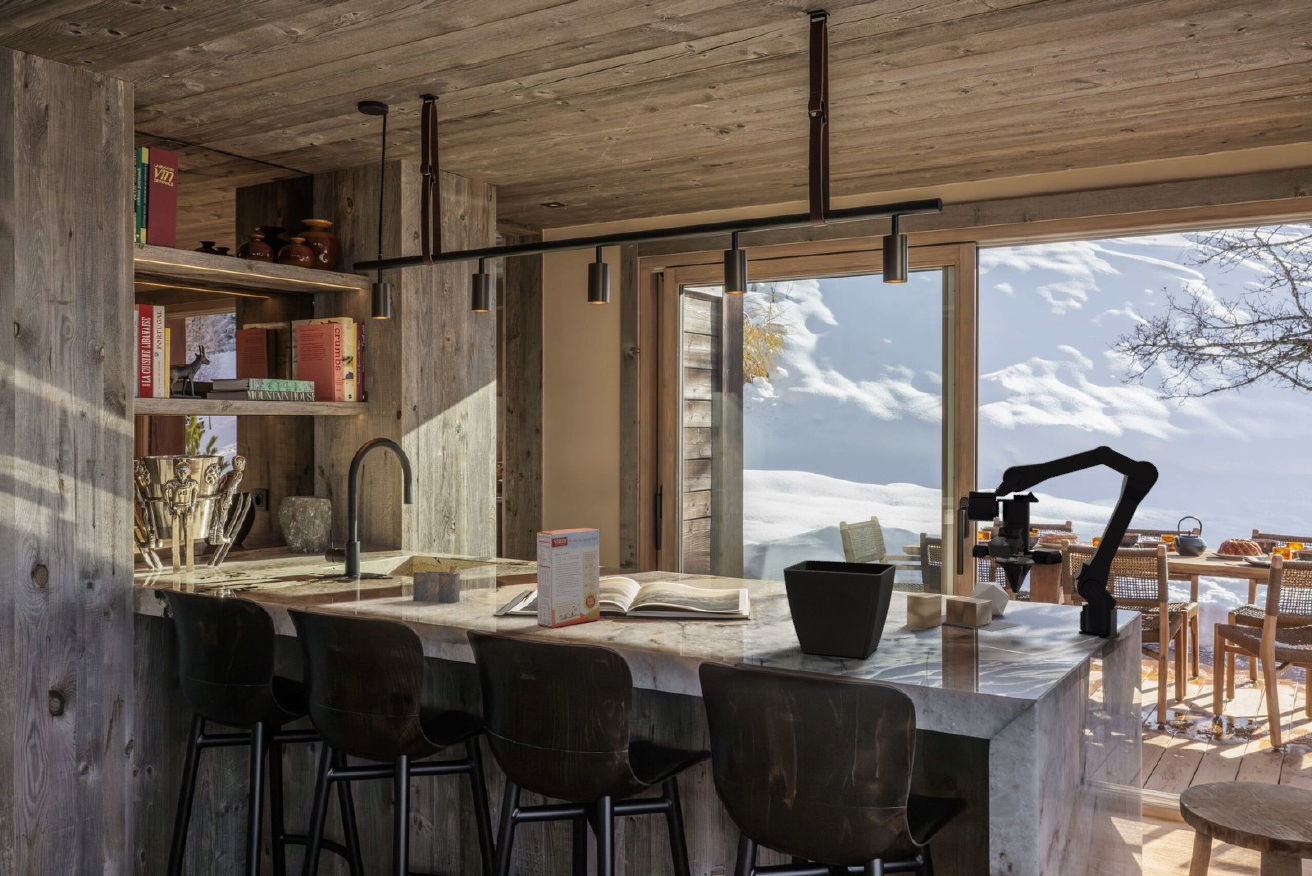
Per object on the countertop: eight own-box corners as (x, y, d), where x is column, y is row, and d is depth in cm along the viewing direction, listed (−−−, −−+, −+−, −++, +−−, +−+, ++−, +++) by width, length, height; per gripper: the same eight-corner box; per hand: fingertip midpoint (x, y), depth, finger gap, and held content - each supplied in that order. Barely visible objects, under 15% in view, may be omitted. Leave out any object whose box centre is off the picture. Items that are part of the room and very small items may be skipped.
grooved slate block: (460, 602, 253) (460, 564, 253) (455, 604, 250) (455, 565, 250) (418, 600, 256) (418, 562, 256) (413, 602, 253) (413, 564, 253)
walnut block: (991, 600, 228) (960, 596, 234) (977, 603, 224) (946, 598, 230) (991, 622, 228) (960, 617, 234) (977, 625, 224) (946, 620, 230)
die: (1002, 622, 234) (1020, 588, 237) (969, 603, 235) (986, 569, 238) (991, 628, 241) (1008, 595, 244) (959, 609, 243) (976, 576, 246)
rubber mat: (1020, 626, 226) (1020, 624, 226) (992, 632, 218) (992, 631, 218) (950, 614, 240) (950, 613, 240) (921, 620, 232) (921, 619, 232)
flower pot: (805, 637, 212) (805, 557, 212) (896, 645, 205) (896, 563, 204) (781, 655, 194) (781, 568, 194) (879, 665, 187) (880, 574, 187)
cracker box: (583, 617, 233) (584, 526, 233) (600, 620, 229) (601, 528, 228) (535, 624, 223) (535, 530, 223) (552, 628, 219) (552, 532, 219)
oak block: (941, 626, 226) (941, 595, 226) (926, 629, 222) (926, 597, 222) (922, 622, 229) (922, 592, 229) (906, 626, 225) (907, 595, 225)
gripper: (958, 521, 224) (958, 591, 224) (1038, 527, 210) (1037, 602, 210) (984, 519, 231) (984, 586, 231) (1063, 524, 217) (1063, 596, 217)
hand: (1015, 592), depth 222 cm, fingers closed
